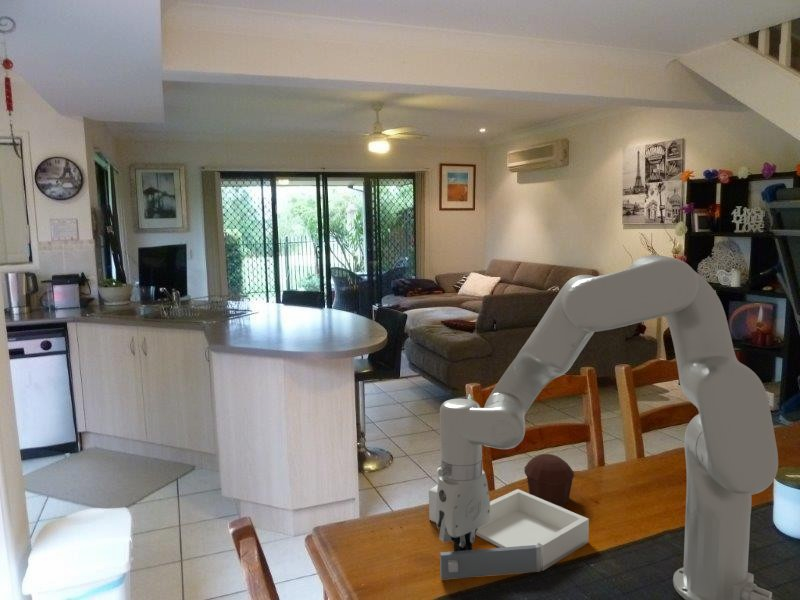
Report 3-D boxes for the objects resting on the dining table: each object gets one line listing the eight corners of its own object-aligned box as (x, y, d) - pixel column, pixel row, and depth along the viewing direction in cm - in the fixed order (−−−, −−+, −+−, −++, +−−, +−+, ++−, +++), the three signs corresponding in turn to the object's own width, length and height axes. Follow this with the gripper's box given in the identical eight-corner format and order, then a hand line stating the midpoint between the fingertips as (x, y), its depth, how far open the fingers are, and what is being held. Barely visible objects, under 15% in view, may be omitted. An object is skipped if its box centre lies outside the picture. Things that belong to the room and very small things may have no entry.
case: (588, 542, 114) (588, 518, 113) (542, 570, 104) (542, 545, 104) (517, 510, 128) (517, 488, 127) (472, 532, 118) (471, 509, 118)
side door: (539, 567, 105) (539, 544, 104) (543, 575, 102) (544, 551, 102) (440, 575, 103) (440, 552, 102) (442, 583, 101) (442, 559, 100)
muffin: (583, 507, 128) (583, 465, 127) (537, 513, 126) (537, 470, 125) (558, 485, 140) (558, 446, 139) (516, 489, 138) (516, 450, 137)
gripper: (445, 486, 96) (447, 588, 98) (504, 462, 105) (505, 555, 107) (416, 472, 101) (419, 569, 104) (475, 451, 111) (476, 540, 113)
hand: (463, 562), depth 105 cm, fingers closed
